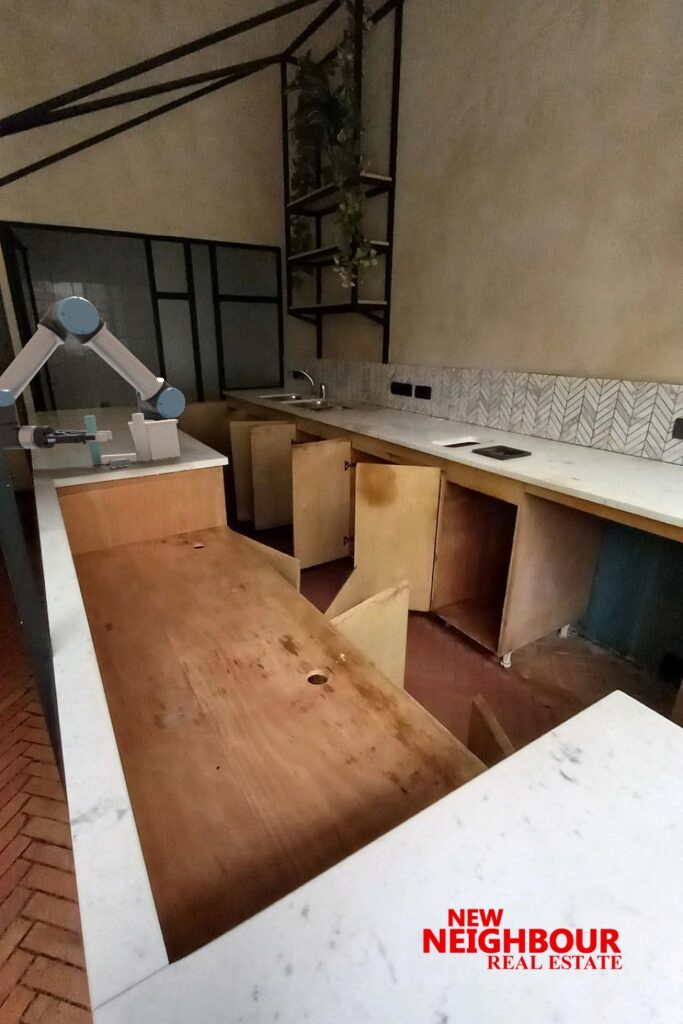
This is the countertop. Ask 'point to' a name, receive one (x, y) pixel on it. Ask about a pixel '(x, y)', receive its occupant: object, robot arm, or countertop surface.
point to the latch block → (119, 462)
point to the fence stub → (162, 439)
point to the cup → (134, 432)
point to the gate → (100, 459)
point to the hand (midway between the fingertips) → (108, 436)
